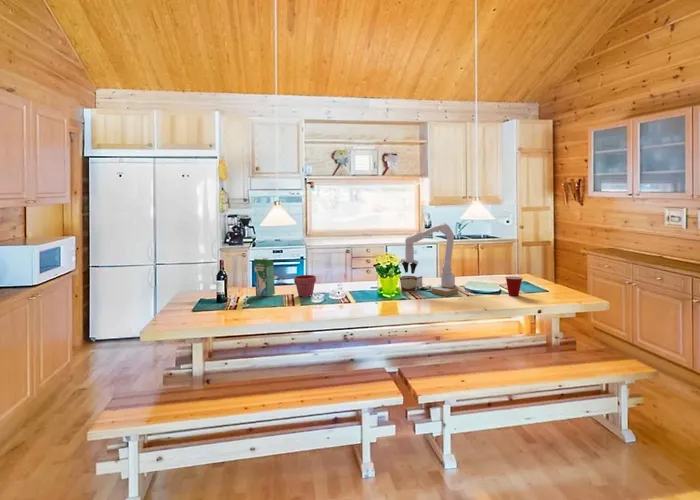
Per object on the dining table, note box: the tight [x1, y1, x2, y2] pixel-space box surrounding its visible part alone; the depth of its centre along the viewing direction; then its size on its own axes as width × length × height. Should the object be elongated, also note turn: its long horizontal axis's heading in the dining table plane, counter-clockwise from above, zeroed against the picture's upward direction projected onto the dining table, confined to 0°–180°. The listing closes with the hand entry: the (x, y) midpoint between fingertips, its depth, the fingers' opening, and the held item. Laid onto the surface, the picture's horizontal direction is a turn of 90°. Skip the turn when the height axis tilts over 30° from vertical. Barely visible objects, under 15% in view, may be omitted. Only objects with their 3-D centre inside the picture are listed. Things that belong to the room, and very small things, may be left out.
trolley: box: [416, 275, 433, 291], centre depth 329 cm, size 7×9×8 cm
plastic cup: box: [504, 275, 524, 297], centre depth 304 cm, size 11×11×12 cm
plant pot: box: [293, 274, 317, 298], centre depth 316 cm, size 14×14×13 cm
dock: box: [423, 286, 459, 297], centre depth 318 cm, size 12×21×4 cm, turn 40°
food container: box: [399, 275, 418, 293], centre depth 323 cm, size 12×6×10 cm, turn 84°
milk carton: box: [253, 257, 276, 297], centre depth 320 cm, size 9×9×25 cm
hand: (409, 272), depth 338 cm, fingers open, 5 cm apart
